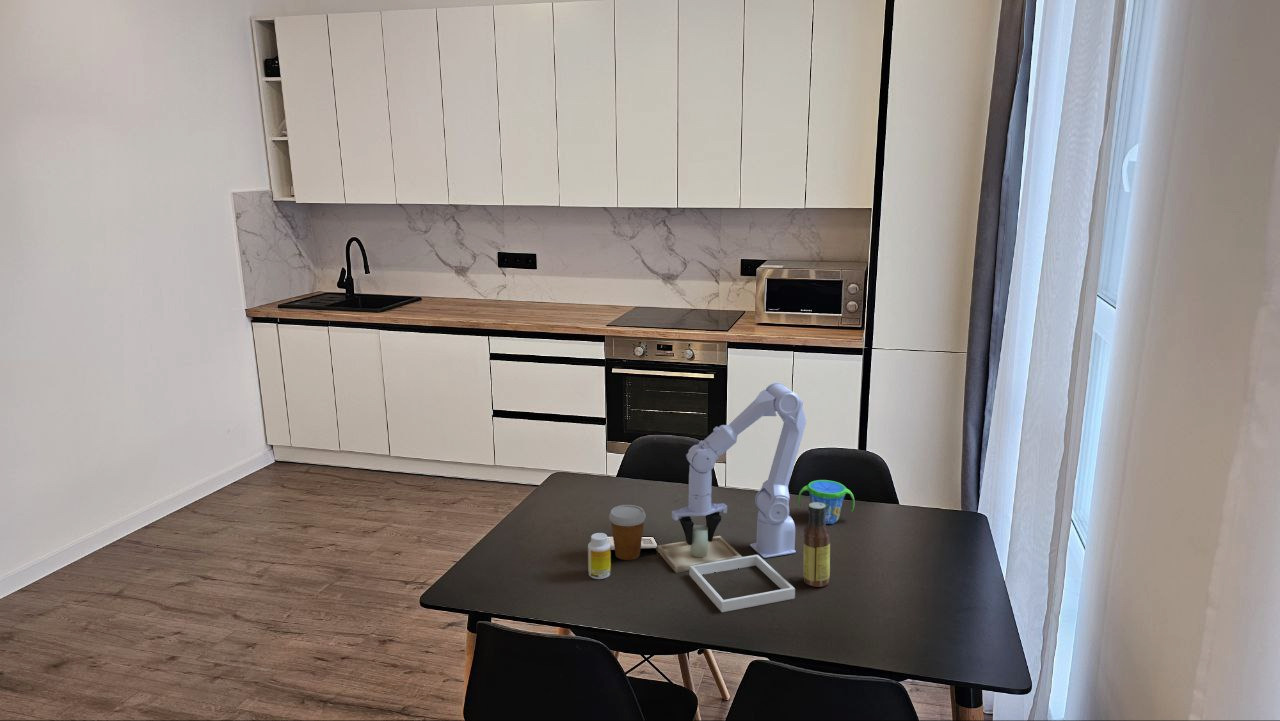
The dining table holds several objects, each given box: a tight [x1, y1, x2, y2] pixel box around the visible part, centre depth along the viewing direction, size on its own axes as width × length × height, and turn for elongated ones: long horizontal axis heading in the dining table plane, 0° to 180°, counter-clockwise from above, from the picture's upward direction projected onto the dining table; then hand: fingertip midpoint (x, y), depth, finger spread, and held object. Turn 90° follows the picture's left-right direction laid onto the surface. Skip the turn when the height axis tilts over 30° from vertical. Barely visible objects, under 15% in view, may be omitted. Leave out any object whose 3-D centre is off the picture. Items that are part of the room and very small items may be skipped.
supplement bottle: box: [587, 532, 612, 580], centre depth 203 cm, size 6×6×10 cm
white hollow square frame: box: [689, 554, 796, 613], centre depth 198 cm, size 19×19×2 cm
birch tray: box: [656, 535, 743, 574], centre depth 214 cm, size 18×13×2 cm
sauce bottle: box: [802, 502, 831, 588], centre depth 198 cm, size 6×6×20 cm
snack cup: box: [797, 479, 856, 525], centre depth 235 cm, size 16×10×10 cm
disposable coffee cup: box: [608, 504, 647, 561], centre depth 213 cm, size 10×10×12 cm
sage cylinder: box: [690, 524, 708, 557], centre depth 213 cm, size 4×4×7 cm
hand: (699, 541), depth 213 cm, fingers open, 5 cm apart
